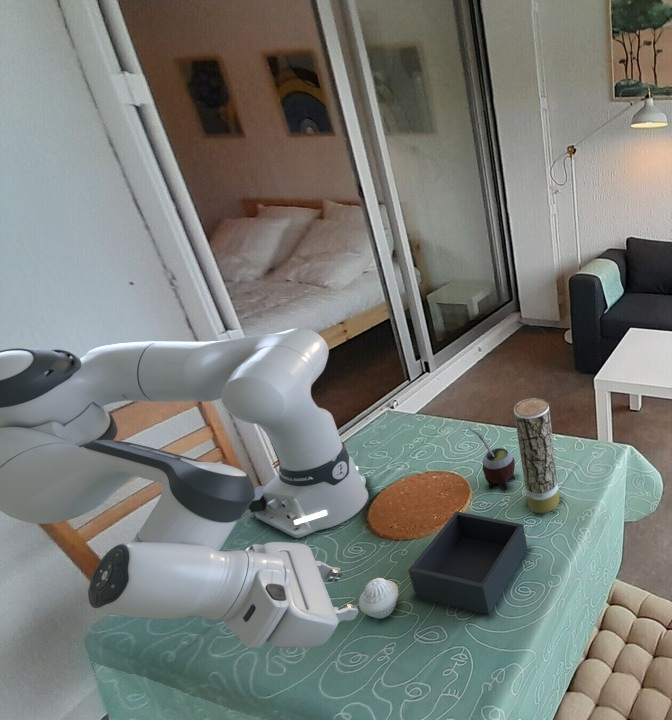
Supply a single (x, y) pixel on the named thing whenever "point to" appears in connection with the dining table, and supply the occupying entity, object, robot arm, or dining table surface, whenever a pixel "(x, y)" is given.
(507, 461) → the mate gourd
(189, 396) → the robot arm
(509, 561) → the bin
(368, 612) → the white rounded piece
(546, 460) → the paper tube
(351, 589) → the dining table surface
